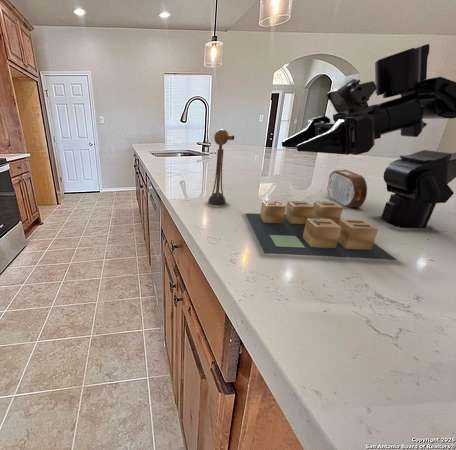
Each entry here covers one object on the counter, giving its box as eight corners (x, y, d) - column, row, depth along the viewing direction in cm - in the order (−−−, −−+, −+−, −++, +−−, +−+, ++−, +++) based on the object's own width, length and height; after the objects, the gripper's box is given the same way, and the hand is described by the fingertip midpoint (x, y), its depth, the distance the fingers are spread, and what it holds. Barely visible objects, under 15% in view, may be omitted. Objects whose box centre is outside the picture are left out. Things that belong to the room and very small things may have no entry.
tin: (362, 212, 60) (373, 178, 56) (348, 211, 60) (357, 178, 57) (334, 195, 73) (341, 167, 70) (322, 195, 74) (329, 167, 70)
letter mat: (334, 217, 57) (334, 215, 57) (396, 263, 39) (397, 259, 39) (245, 215, 60) (245, 212, 60) (264, 256, 42) (264, 252, 42)
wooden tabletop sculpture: (231, 205, 68) (239, 128, 60) (221, 209, 65) (227, 129, 57) (214, 201, 72) (219, 128, 64) (204, 204, 69) (208, 129, 62)
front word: (357, 239, 45) (364, 219, 44) (371, 250, 42) (379, 228, 40) (302, 237, 47) (306, 217, 45) (311, 247, 43) (316, 226, 42)
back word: (329, 218, 55) (333, 201, 54) (338, 225, 52) (343, 206, 50) (284, 217, 57) (287, 200, 55) (290, 223, 53) (293, 205, 52)
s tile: (277, 216, 57) (280, 200, 56) (283, 223, 53) (286, 205, 52) (259, 216, 58) (262, 199, 56) (263, 222, 54) (266, 205, 53)
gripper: (348, 81, 52) (270, 107, 56) (420, 61, 35) (301, 101, 39) (351, 134, 55) (277, 155, 59) (418, 139, 38) (309, 168, 42)
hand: (288, 146), depth 50 cm, fingers open, 9 cm apart
